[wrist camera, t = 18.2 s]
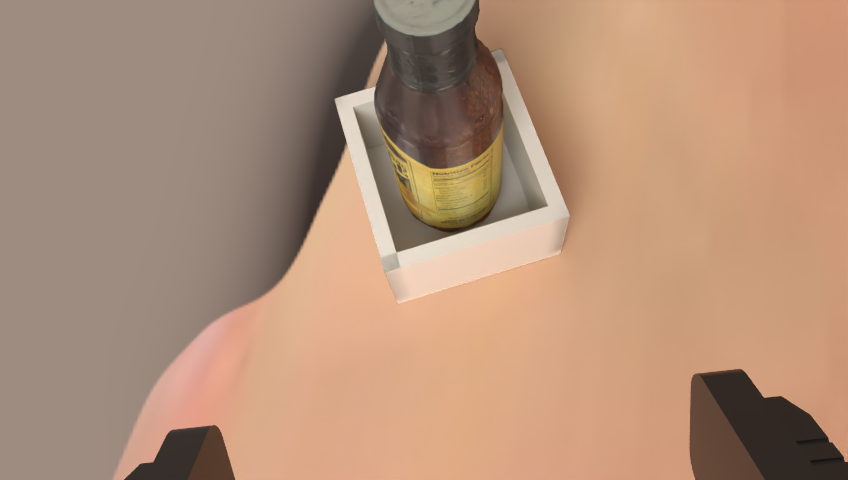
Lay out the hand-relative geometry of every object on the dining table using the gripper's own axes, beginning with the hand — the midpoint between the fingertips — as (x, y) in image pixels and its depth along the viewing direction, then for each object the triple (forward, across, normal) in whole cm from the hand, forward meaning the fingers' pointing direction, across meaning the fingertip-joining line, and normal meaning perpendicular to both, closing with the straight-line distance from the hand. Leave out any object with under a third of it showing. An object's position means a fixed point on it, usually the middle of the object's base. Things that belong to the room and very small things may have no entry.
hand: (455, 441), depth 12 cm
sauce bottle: (+33, 0, +8) cm, 34 cm away
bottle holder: (+34, 0, +8) cm, 35 cm away
